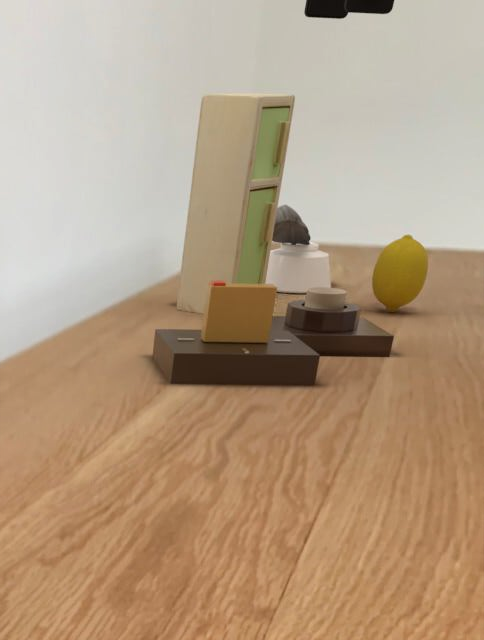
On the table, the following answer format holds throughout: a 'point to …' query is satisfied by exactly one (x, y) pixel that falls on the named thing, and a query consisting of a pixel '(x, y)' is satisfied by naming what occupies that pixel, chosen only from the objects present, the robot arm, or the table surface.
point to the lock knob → (238, 312)
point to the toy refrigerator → (233, 192)
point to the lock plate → (234, 359)
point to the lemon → (400, 273)
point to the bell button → (325, 298)
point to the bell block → (334, 331)
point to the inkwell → (296, 256)
